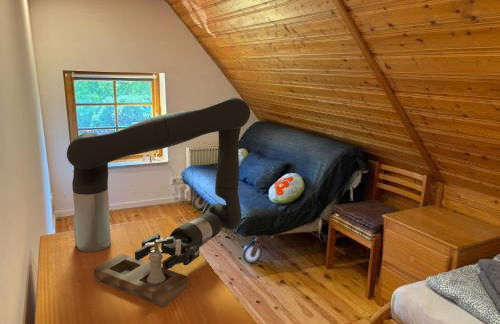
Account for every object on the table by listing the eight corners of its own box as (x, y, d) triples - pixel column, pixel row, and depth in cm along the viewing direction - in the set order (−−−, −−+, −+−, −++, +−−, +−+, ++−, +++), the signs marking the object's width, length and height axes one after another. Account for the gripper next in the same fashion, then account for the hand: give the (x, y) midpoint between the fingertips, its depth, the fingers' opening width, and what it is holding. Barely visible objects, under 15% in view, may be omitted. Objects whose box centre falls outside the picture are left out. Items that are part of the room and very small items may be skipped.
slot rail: (94, 279, 91) (93, 268, 90) (122, 263, 99) (121, 253, 98) (163, 307, 81) (162, 295, 80) (187, 287, 89) (187, 276, 88)
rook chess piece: (161, 290, 85) (160, 259, 83) (143, 288, 86) (142, 256, 84) (168, 280, 89) (168, 250, 87) (151, 278, 90) (151, 248, 88)
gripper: (171, 217, 100) (126, 238, 86) (214, 228, 94) (173, 254, 80) (171, 242, 102) (127, 267, 88) (214, 255, 96) (174, 284, 82)
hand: (149, 261), depth 84 cm, fingers open, 8 cm apart
